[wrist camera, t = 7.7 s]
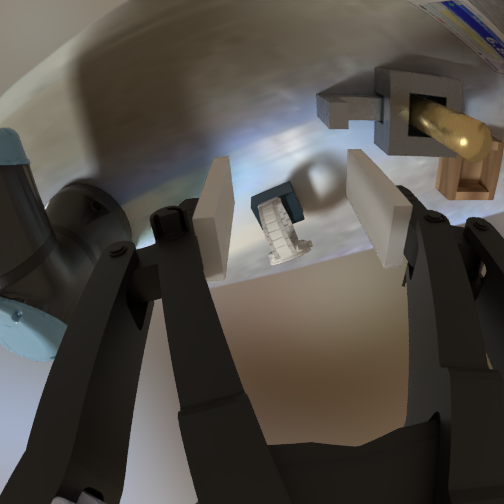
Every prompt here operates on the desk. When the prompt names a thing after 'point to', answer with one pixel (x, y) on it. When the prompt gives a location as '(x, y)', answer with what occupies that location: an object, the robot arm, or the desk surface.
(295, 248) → the watch
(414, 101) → the tan rounded cylinder
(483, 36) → the electronic device
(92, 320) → the robot arm
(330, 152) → the desk surface
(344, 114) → the grey l-shaped block
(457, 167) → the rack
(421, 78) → the socket block
